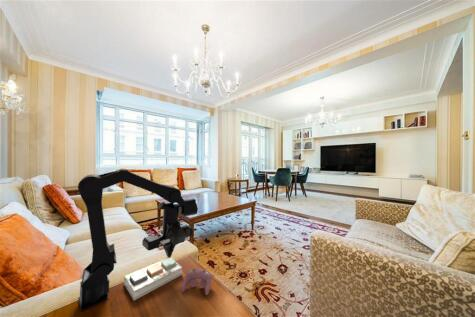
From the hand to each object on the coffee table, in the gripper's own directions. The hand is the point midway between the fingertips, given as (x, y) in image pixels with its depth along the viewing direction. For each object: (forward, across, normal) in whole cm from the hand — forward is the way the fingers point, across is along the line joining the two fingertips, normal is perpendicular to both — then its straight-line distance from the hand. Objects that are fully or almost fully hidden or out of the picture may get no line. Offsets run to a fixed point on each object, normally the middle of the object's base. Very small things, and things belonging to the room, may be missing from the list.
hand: (168, 257), depth 68 cm
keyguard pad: (+6, -5, 0) cm, 8 cm away
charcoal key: (+4, -11, 0) cm, 12 cm away
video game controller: (+6, +3, -15) cm, 17 cm away
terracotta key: (+4, -5, 0) cm, 7 cm away
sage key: (+4, 0, 0) cm, 4 cm away
